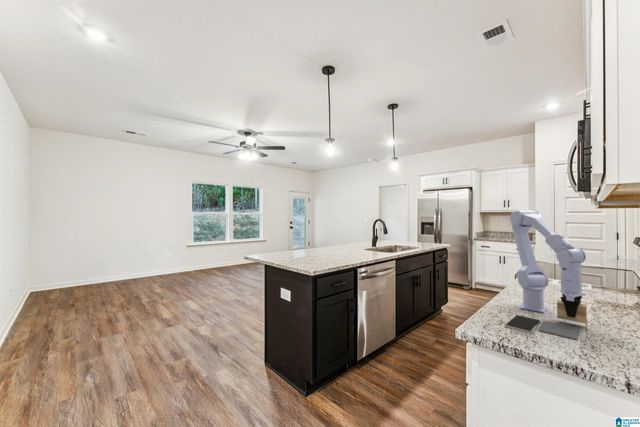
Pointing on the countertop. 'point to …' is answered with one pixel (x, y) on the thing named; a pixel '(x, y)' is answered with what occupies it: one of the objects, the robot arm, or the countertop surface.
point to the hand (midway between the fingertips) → (571, 315)
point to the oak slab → (580, 315)
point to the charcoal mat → (559, 329)
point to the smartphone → (523, 324)
